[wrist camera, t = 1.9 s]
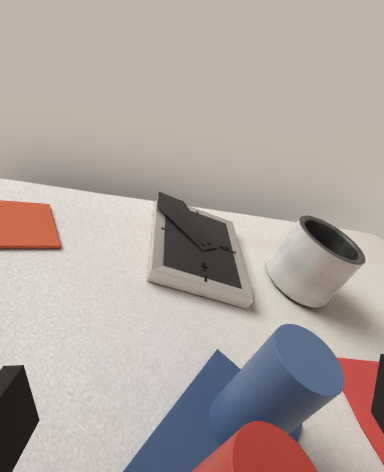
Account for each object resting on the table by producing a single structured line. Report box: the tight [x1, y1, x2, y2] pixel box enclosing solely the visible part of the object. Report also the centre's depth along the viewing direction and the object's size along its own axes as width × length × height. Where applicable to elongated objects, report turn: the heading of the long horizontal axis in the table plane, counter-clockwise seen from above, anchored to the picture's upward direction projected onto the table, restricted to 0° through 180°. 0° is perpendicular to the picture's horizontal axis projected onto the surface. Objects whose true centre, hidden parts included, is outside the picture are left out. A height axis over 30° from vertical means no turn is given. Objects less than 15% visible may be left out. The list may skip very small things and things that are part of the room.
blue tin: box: [209, 324, 344, 446], centre depth 29 cm, size 6×6×12 cm
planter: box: [267, 216, 365, 308], centre depth 56 cm, size 13×13×11 cm
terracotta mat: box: [0, 200, 61, 248], centre depth 41 cm, size 9×9×1 cm
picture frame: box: [146, 192, 254, 309], centre depth 53 cm, size 16×3×21 cm
